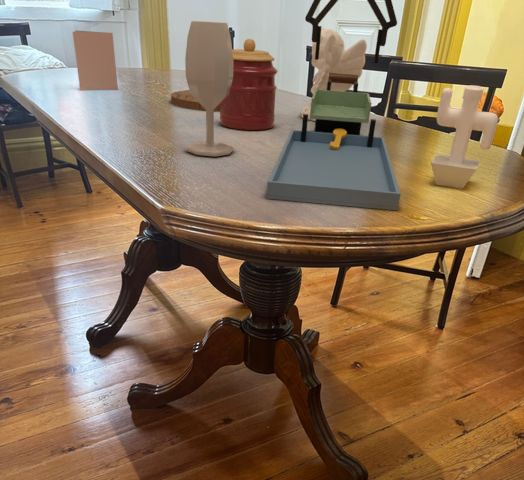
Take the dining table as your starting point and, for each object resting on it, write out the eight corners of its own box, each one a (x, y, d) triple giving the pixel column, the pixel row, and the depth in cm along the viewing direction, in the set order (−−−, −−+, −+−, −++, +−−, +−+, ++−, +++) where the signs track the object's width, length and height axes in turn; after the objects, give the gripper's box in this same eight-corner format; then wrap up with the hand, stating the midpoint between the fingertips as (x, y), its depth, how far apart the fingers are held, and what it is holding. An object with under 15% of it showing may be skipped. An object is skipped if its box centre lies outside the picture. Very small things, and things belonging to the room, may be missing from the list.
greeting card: (118, 89, 160) (113, 32, 151) (110, 92, 154) (104, 33, 145) (83, 86, 160) (75, 30, 152) (73, 89, 154) (65, 31, 146)
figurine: (477, 193, 84) (506, 92, 75) (419, 184, 87) (441, 85, 78) (480, 182, 89) (507, 87, 81) (425, 174, 92) (446, 81, 84)
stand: (304, 131, 119) (307, 104, 116) (368, 136, 118) (373, 109, 115) (300, 144, 108) (303, 114, 105) (371, 150, 106) (376, 120, 103)
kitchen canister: (230, 131, 115) (231, 39, 105) (212, 120, 124) (212, 35, 115) (282, 130, 119) (289, 42, 109) (262, 119, 129) (265, 37, 119)
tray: (290, 142, 109) (291, 129, 107) (381, 149, 107) (383, 137, 106) (266, 198, 76) (267, 181, 75) (397, 210, 74) (400, 193, 73)
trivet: (228, 115, 132) (228, 107, 131) (152, 102, 142) (152, 95, 141) (274, 104, 150) (275, 97, 149) (205, 94, 160) (204, 87, 159)
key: (333, 130, 107) (334, 127, 106) (347, 132, 106) (347, 129, 106) (328, 149, 103) (328, 145, 102) (342, 150, 102) (342, 147, 102)
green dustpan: (315, 101, 125) (318, 71, 122) (364, 105, 124) (369, 75, 121) (309, 118, 105) (313, 83, 102) (368, 123, 104) (373, 87, 101)
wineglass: (216, 160, 93) (216, 23, 82) (177, 152, 97) (172, 20, 85) (241, 151, 100) (244, 24, 88) (204, 144, 103) (202, 20, 91)
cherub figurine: (328, 112, 143) (337, 28, 131) (359, 121, 134) (372, 31, 123) (290, 115, 136) (297, 26, 125) (320, 124, 128) (330, 29, 117)
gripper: (418, -51, 109) (399, 63, 121) (301, -56, 111) (293, 56, 123) (422, -56, 103) (402, 65, 114) (298, -60, 105) (291, 58, 117)
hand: (346, 61), depth 119 cm, fingers open, 13 cm apart
